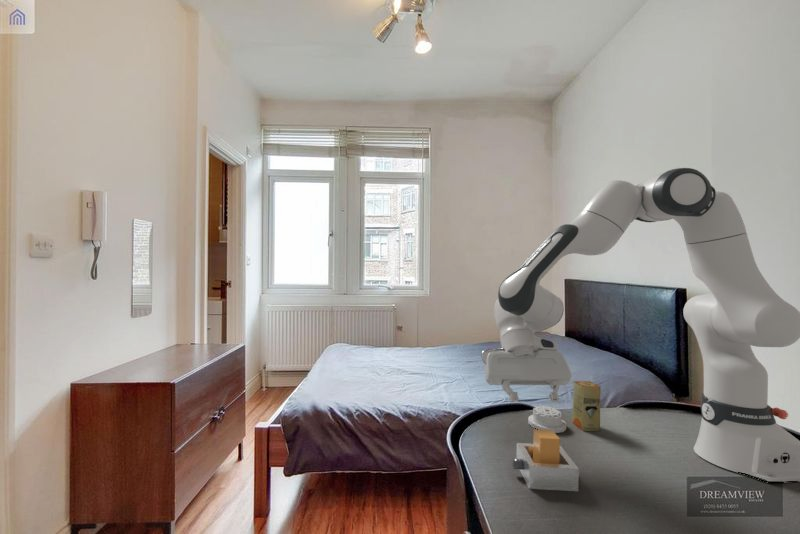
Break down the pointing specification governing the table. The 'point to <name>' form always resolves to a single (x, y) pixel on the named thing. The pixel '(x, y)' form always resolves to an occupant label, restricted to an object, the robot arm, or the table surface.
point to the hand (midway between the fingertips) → (535, 401)
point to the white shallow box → (546, 470)
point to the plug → (546, 447)
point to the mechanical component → (547, 419)
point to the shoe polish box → (586, 405)
